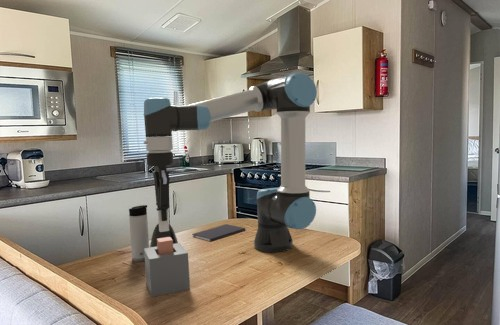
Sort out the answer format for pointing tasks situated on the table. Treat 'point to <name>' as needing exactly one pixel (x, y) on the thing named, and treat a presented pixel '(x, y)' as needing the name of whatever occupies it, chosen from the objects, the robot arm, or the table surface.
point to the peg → (164, 245)
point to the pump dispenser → (162, 235)
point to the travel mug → (138, 232)
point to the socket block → (167, 270)
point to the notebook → (218, 232)
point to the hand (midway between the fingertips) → (164, 230)
